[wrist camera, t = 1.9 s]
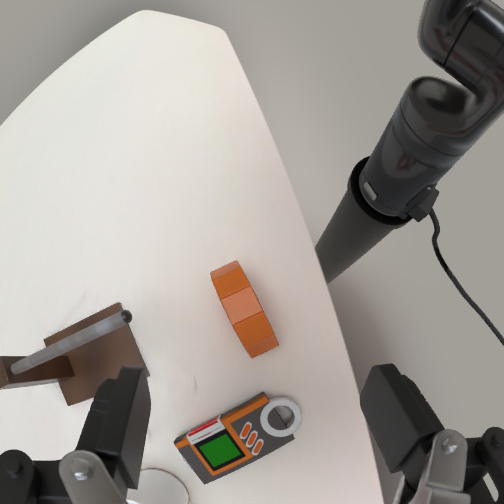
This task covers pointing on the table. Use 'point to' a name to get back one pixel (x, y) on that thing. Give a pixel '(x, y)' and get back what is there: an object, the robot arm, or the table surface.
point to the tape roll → (243, 309)
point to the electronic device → (238, 437)
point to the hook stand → (78, 356)
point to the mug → (158, 489)
